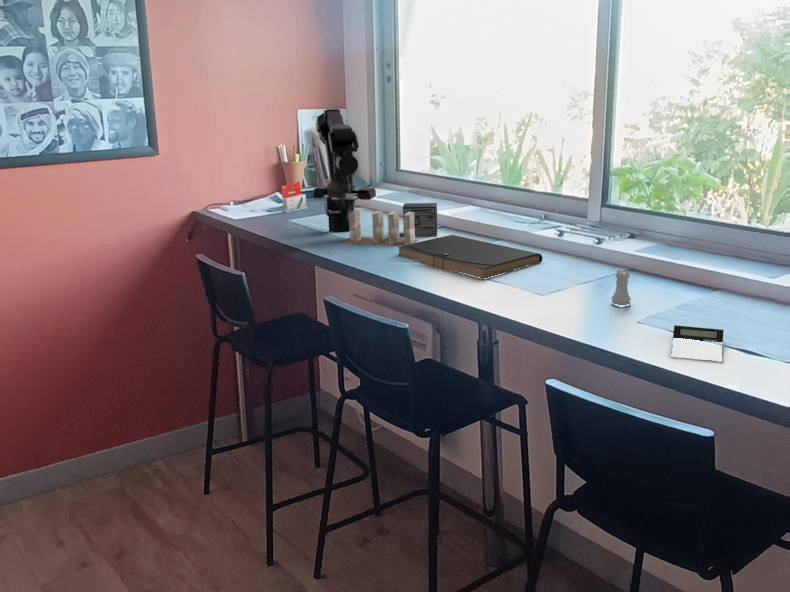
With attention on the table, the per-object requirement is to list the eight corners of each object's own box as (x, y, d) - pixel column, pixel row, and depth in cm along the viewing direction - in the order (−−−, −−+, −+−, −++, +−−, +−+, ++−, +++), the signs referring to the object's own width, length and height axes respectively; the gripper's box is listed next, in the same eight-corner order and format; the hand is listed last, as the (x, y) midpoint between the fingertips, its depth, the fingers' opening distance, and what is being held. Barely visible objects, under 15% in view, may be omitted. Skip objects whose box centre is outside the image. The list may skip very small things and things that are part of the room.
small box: (438, 234, 260) (437, 202, 256) (437, 239, 253) (436, 206, 250) (405, 234, 261) (404, 202, 258) (403, 239, 255) (402, 206, 251)
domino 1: (361, 238, 254) (360, 209, 251) (355, 241, 249) (354, 212, 247) (355, 237, 254) (354, 209, 251) (350, 241, 250) (349, 212, 247)
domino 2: (373, 242, 248) (372, 213, 245) (378, 239, 252) (377, 210, 249) (378, 243, 247) (377, 214, 244) (383, 239, 251) (383, 210, 249)
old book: (397, 245, 232) (456, 232, 247) (397, 259, 233) (456, 245, 248) (483, 267, 208) (542, 251, 223) (482, 282, 209) (542, 265, 225)
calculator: (670, 358, 157) (671, 344, 156) (673, 338, 167) (674, 324, 166) (722, 364, 154) (723, 349, 153) (722, 343, 164) (723, 329, 163)
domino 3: (388, 243, 246) (387, 214, 243) (393, 239, 250) (392, 211, 248) (394, 244, 246) (393, 214, 243) (399, 240, 250) (398, 211, 247)
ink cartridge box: (306, 207, 308) (305, 181, 305) (287, 213, 299) (285, 186, 296) (301, 207, 309) (300, 181, 306) (282, 212, 300) (280, 186, 297)
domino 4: (404, 244, 245) (403, 215, 242) (409, 240, 249) (408, 211, 246) (410, 244, 244) (409, 215, 241) (414, 241, 248) (414, 212, 246)
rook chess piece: (627, 308, 185) (629, 275, 182) (608, 306, 187) (610, 272, 185) (633, 303, 188) (635, 270, 186) (614, 300, 191) (616, 267, 188)
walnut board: (342, 245, 249) (341, 242, 249) (351, 239, 257) (351, 236, 256) (410, 248, 243) (410, 246, 242) (418, 242, 250) (418, 239, 250)
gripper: (303, 173, 242) (307, 224, 247) (362, 174, 236) (364, 227, 241) (319, 167, 252) (321, 217, 257) (375, 169, 246) (377, 219, 251)
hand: (345, 220), depth 251 cm, fingers closed
